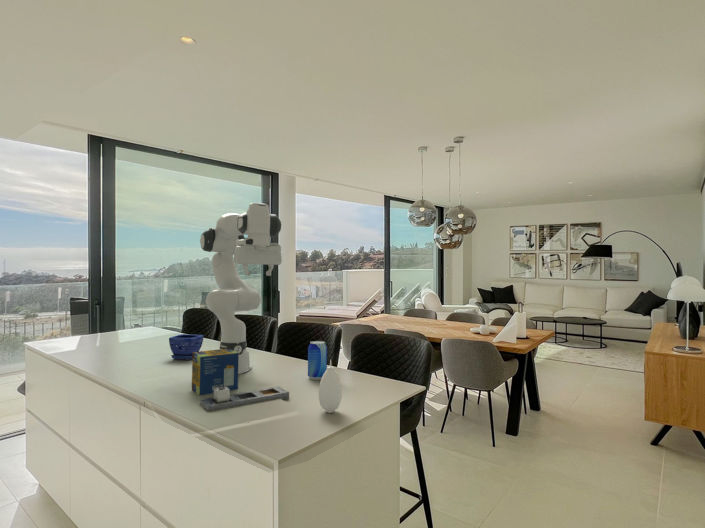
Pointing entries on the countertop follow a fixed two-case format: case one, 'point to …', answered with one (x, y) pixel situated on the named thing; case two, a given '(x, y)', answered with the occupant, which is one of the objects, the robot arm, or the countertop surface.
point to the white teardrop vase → (330, 390)
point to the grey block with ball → (221, 395)
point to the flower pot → (185, 345)
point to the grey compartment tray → (246, 398)
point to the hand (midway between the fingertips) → (258, 275)
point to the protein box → (214, 370)
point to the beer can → (317, 360)
